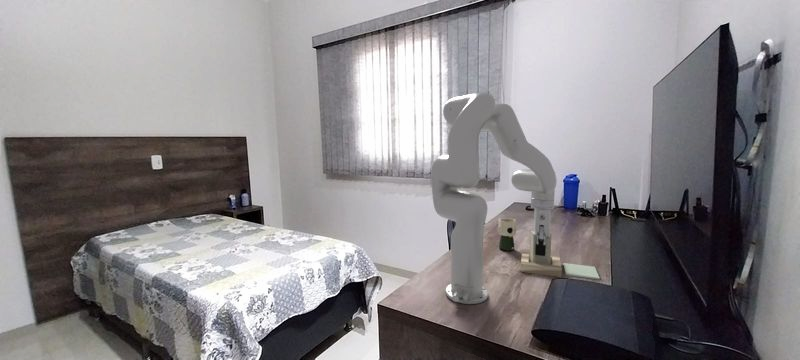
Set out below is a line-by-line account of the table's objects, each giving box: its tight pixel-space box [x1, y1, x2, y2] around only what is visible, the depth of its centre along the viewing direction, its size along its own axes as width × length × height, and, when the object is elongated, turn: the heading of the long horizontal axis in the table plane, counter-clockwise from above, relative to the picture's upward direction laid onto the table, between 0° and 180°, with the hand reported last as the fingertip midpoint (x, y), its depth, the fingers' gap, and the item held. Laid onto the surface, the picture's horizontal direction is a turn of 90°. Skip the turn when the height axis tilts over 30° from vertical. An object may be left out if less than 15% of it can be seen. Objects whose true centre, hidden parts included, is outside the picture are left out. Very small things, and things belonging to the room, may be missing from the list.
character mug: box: [497, 217, 517, 251], centre depth 133 cm, size 11×7×13 cm, turn 122°
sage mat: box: [563, 262, 601, 281], centre depth 110 cm, size 10×10×1 cm
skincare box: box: [529, 230, 552, 265], centre depth 113 cm, size 6×4×12 cm
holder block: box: [520, 251, 563, 278], centre depth 114 cm, size 13×13×3 cm
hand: (540, 252), depth 113 cm, fingers closed on skincare box, 5 cm apart
